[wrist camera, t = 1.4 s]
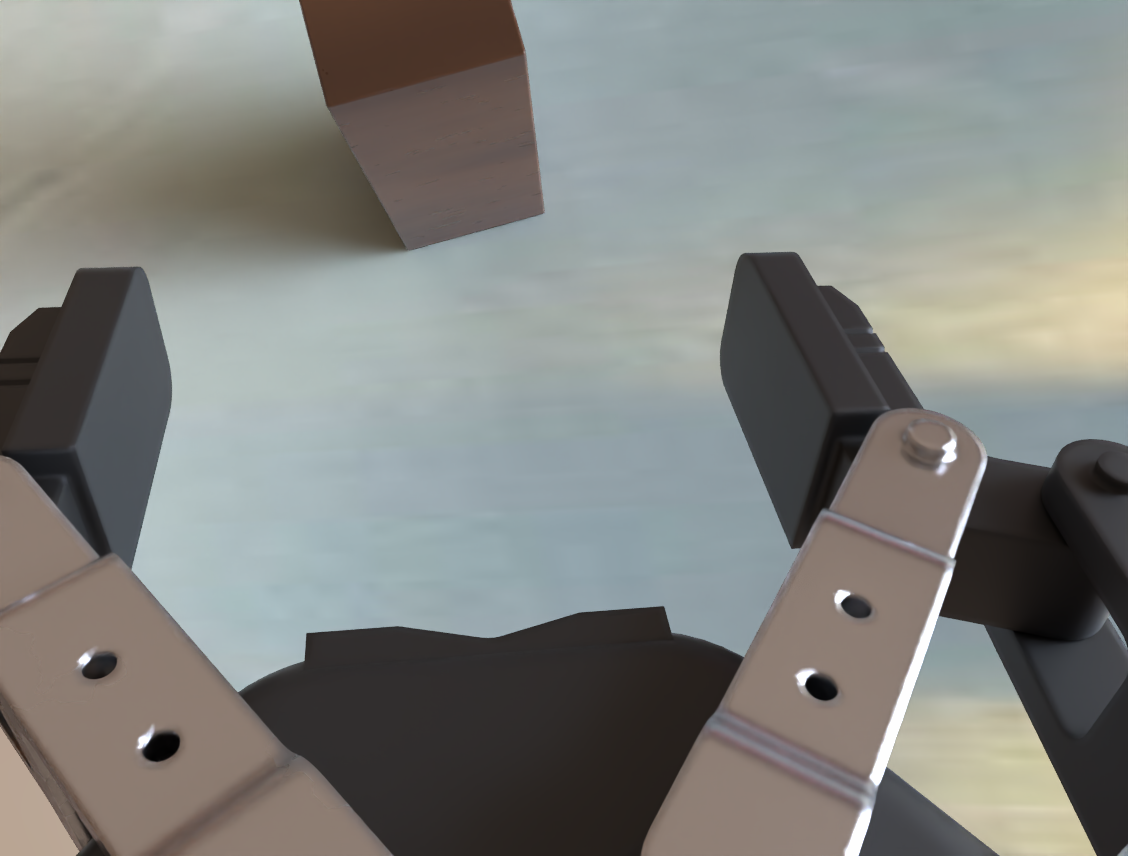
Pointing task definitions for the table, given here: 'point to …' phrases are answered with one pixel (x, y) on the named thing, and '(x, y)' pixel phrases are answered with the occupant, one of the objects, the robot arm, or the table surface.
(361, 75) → the walnut block
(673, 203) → the table surface
